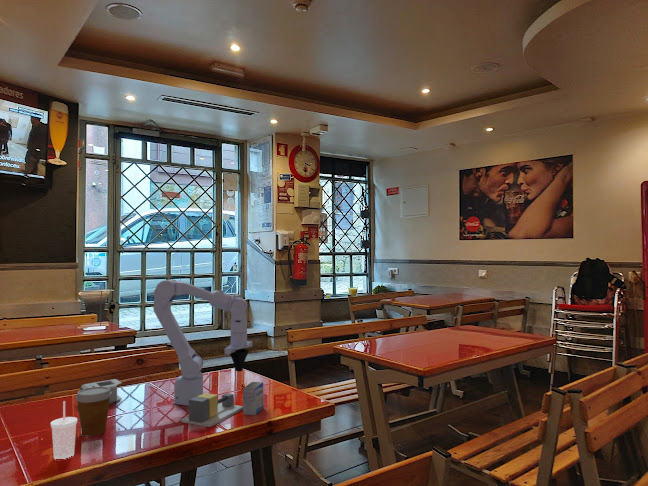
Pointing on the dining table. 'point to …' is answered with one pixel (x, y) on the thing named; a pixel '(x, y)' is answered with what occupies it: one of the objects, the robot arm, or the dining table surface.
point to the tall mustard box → (211, 403)
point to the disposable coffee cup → (93, 409)
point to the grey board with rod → (200, 410)
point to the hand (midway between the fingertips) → (239, 370)
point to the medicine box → (253, 398)
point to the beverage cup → (63, 436)
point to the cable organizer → (107, 383)
